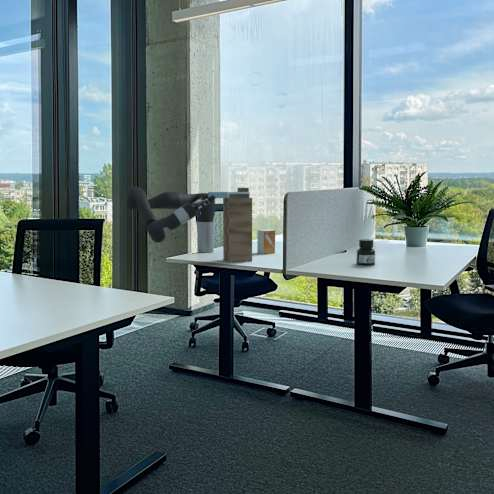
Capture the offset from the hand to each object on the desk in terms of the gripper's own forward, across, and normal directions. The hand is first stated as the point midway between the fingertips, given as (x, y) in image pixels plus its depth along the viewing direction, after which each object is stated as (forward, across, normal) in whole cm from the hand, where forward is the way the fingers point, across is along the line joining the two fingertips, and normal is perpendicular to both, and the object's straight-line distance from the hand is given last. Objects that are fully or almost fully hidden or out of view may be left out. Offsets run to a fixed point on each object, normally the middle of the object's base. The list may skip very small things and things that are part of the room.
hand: (211, 196), depth 269 cm
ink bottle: (+42, +32, -64) cm, 83 cm away
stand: (-5, -1, -35) cm, 36 cm away
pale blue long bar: (+7, -1, -5) cm, 9 cm away
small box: (+15, -20, -48) cm, 54 cm away
